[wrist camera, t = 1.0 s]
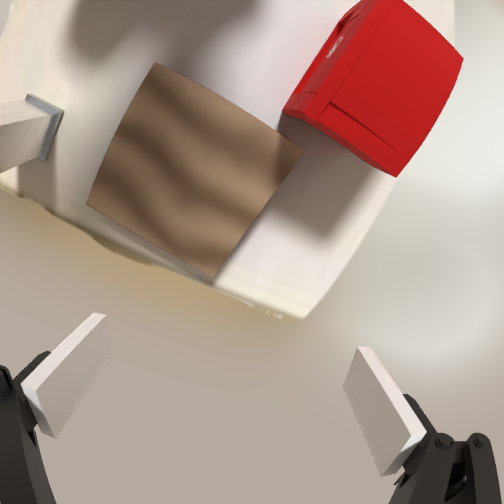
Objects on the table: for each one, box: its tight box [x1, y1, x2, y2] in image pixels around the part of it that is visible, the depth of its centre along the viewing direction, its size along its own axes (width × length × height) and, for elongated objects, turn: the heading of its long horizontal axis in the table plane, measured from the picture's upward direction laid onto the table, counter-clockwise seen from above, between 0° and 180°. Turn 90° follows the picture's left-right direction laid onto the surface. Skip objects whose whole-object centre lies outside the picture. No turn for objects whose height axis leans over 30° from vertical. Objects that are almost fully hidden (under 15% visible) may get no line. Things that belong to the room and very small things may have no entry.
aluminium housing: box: [0, 94, 64, 173], centre depth 24 cm, size 8×8×15 cm
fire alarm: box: [282, 0, 463, 177], centre depth 24 cm, size 16×11×15 cm
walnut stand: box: [86, 62, 305, 277], centre depth 34 cm, size 20×20×5 cm
